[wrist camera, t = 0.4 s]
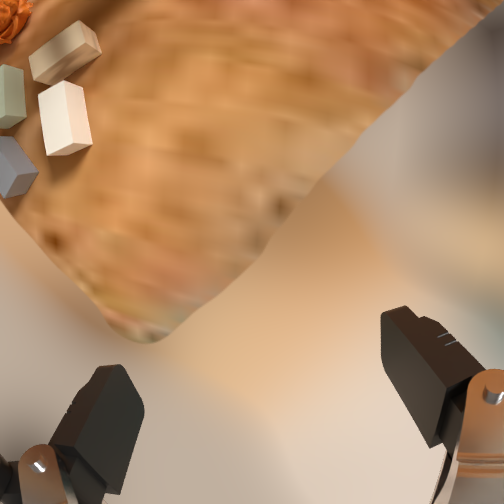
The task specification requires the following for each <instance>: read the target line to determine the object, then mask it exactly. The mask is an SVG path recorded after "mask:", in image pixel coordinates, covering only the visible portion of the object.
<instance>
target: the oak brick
mask: <svg viewBox="0 0 504 504" xmlns="http://www.w3.org/2000/svg"><path fill="white" fill-rule="evenodd" d="M101 54H102V52H101V49H100V46H99V43H98V40H97V37H96V34H95V32H94V31H92V30H91V29H90V28H89V27H87V26H86V25H85V24H83V23H82V22H81V21H80V20H78V21H77V22H75V23H73V24H72V25H71V26H69V27H68V28H66V29H65V30H63V31H62V32H60V33H59V34H58V35H56V36H55V37H54V38H52V39H51V40H49V41H48V42H47V43H46V44H44V45H43V46H42V47H40V48H39V49H38V50H37V51H35V52H34V53H33V54H32V55H30V56H29V62H30V67H31V71H32V76H33V80H34V81H38V82H41V83H44V84H47V85H50V86H54V85H56V84H58V83H59V82H61V81H62V80H63V79H65V78H66V77H68V76H69V75H70V74H72V73H73V72H75V71H76V70H78V69H79V68H81V67H82V66H84V65H85V64H87V63H88V62H90V61H91V60H93V59H95V58H96V57H98V56H100V55H101Z"/></svg>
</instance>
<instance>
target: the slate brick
mask: <svg viewBox="0 0 504 504" xmlns="http://www.w3.org/2000/svg"><path fill="white" fill-rule="evenodd" d="M38 173H39V171H38V170H37V168H36V167H35V166H34V165H33V163H32V162H31V161H30V159H29V158H28V157H27V155H26V154H25V152H24V151H23V150H22V148H21V147H20V146H19V144H18V143H17V141H16V140H15V139H14V137H13V136H0V193H1V195H2V196H3V198H4V199H5V198H9V197H13V196H18V195H22V194H26V192H27V190H28V189H29V187H30V186H31V184H32V182H33V181H34V179H35V178H36V176H37V175H38Z"/></svg>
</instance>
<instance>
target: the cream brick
mask: <svg viewBox="0 0 504 504" xmlns="http://www.w3.org/2000/svg"><path fill="white" fill-rule="evenodd" d="M38 99H39V108H40V116H41V124H42V130H43V137H44V143H45V148H46V154H47V156H56V155H69V154H72V153H74V152H76V151H78V150H81V149H83V148H85V147H88V146H90V145H93V143H92V138H91V133H90V128H89V123H88V117H87V111H86V105H85V99H84V92H83V88H82V87H80V86H77V85H75V84H72V83H70V82H67V81H65V80H63V81H61V82H59V83H58V84H56V85H54V86H52V87H50V88H49V89H47V90H45V91H43V92H42V93H40V94H38Z"/></svg>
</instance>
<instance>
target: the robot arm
mask: <svg viewBox="0 0 504 504" xmlns="http://www.w3.org/2000/svg"><path fill="white" fill-rule="evenodd" d="M381 359H382V363H383V367H384V369H385V372H386V374H387V375H388V377H389V379H390V380H391V382H392V384H393V385H394V387H395V389H396V391H397V392H398V394H399V396H400V397H401V399H402V401H403V402H404V404H405V406H406V407H407V409H408V411H409V413H410V414H411V416H412V418H413V420H414V421H415V423H416V425H417V427H418V428H419V430H420V432H421V434H422V436H423V437H424V439H425V441H426V443H427V445H428V447H429V448H432V447H434V446H436V445H438V444H441V443H443V444H444V446H445V447H446V449H447V450H446V452H445V455H444V459H443V463H442V467H441V470H440V473H439V477H438V480H437V483H436V486H435V489H434V492H433V495H432V499H431V501H430V504H504V370H500V369H489V370H486V369H485V368H484V367H483V366H482V365H481V364H480V363H479V362H478V361H477V360H476V359H475V358H474V357H473V356H472V355H471V354H470V353H469V352H468V351H467V350H466V349H465V348H464V347H463V346H462V345H461V344H460V343H459V342H457V341H456V339H455V338H454V337H453V336H452V335H451V334H449V333H448V331H447V330H446V329H445V328H444V327H443V326H442V325H441V324H440V323H439V322H437V321H434V320H432V319H430V318H428V317H425V316H423V317H420V318H418V317H417V316H416V315H415V314H414V313H413V312H412V311H411V310H410V309H409V308H408V307H407V306H402V307H398V308H395V309H392V310H389V311H385V312H383V313H382V314H381ZM143 418H144V405H143V402H142V399H141V397H140V395H139V394H138V392H137V390H136V388H135V387H134V385H133V383H132V381H131V379H130V377H129V376H128V374H127V372H126V370H125V368H124V367H123V366H122V365H120V364H117V365H107V366H99V367H98V368H97V369H96V371H95V372H94V374H93V375H92V377H91V379H90V380H89V382H88V383H87V384H86V385H85V386H84V387H82V388H81V389H80V390H79V391H78V393H77V394H76V396H75V398H74V399H73V401H72V405H70V406H69V408H68V410H67V413H65V415H64V417H63V418H62V420H61V422H60V424H59V425H58V427H57V429H56V431H55V433H54V434H53V436H52V438H51V440H50V442H49V444H48V445H46V444H39V445H35V446H33V447H31V448H29V449H28V450H27V451H25V453H24V454H23V455H22V456H21V458H20V460H19V461H14V462H13V461H12V462H7V461H6V460H5V459H4V458H3V457H2V456H1V454H0V501H1V502H2V503H3V504H107V503H106V501H105V500H104V499H103V497H104V494H105V493H110V494H117V495H120V493H121V489H122V486H123V482H124V479H125V476H126V472H127V469H128V466H129V462H130V459H131V456H132V452H133V449H134V446H135V443H136V440H137V437H138V433H139V430H140V427H141V424H142V421H143Z"/></svg>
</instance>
